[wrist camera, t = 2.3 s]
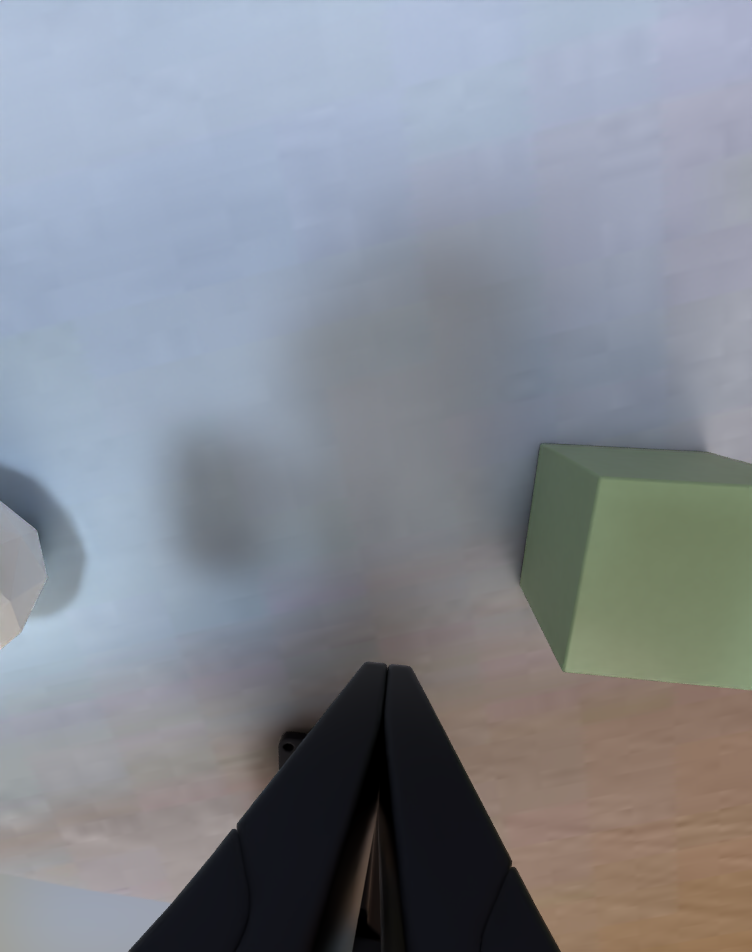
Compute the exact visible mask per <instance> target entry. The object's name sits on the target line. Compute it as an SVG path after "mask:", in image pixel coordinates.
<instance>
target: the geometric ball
mask: <svg viewBox="0 0 752 952" xmlns="http://www.w3.org/2000/svg"><path fill="white" fill-rule="evenodd" d="M47 578H48V576H47V571H46V567H45V563H44V558H43V554H42V550H41V545H40V541H39V537H38V532H37V530H36V529H35V528H34V527H32V526H31V525H30V524H29V523H27V522H26V521H25V520H24V519H22V518H21V517H20V516H19V515H17V514H16V513H15V512H14V511H12V510H11V509H10V508H9V507H7V506H6V505H5V504H4V503H2V502H1V501H0V650H1V649H2V648H3V647H4V646H5V645H7V644H8V643H9V642H10V641H11V640H13V639H14V638H15V637H16V636H17V635H18V634H20V633H21V632H22V630H23V628H24V626H25V624H26V621H27V619H28V617H29V615H30V613H31V611H32V609H33V607H34V605H35V603H36V601H37V599H38V597H39V595H40V593H41V591H42V589H43V587H44V585H45V583H46V581H47Z"/></svg>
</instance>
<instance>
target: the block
mask: <svg viewBox="0 0 752 952" xmlns="http://www.w3.org/2000/svg"><path fill="white" fill-rule="evenodd" d="M520 587H521V589H522V591H523V593H524V595H525V597H526V599H527V601H528V603H529V605H530V607H531V609H532V611H533V613H534V615H535V617H536V619H537V621H538V623H539V625H540V627H541V629H542V631H543V633H544V635H545V637H546V639H547V641H548V643H549V645H550V647H551V649H552V651H553V653H554V655H555V657H556V659H557V661H558V663H559V665H560V667H561V669H562V671H564V672H569V673H579V674H589V675H600V676H610V677H620V678H630V679H641V680H651V681H661V682H671V683H682V684H692V685H702V686H712V687H722V688H733V689H743V690H752V464H750V463H746V462H742V461H739V460H735V459H731V458H728V457H724V456H720V455H717V454H713V453H709V452H695V451H677V450H658V449H640V448H621V447H602V446H584V445H565V444H547V443H543V444H541V445H540V451H539V457H538V464H537V471H536V478H535V484H534V491H533V498H532V505H531V512H530V518H529V525H528V532H527V539H526V545H525V552H524V559H523V566H522V572H521V579H520Z"/></svg>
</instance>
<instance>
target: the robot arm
mask: <svg viewBox="0 0 752 952" xmlns="http://www.w3.org/2000/svg"><path fill="white" fill-rule="evenodd" d="M289 743H290V744H289ZM128 952H561V951H560V949H559V947H558V946H557V944H556V942H555V940H554V938H553V937H552V935H551V933H550V931H549V929H548V927H547V926H546V924H545V922H544V920H543V918H542V916H541V915H540V913H539V911H538V909H537V907H536V906H535V904H534V902H533V900H532V898H531V896H530V894H529V892H528V890H527V888H526V886H525V884H524V882H523V880H522V879H521V877H520V875H519V873H518V871H517V869H516V868H515V867H512V860H511V858H510V856H509V854H508V852H507V850H506V848H505V846H504V844H503V843H502V841H501V839H500V837H499V835H498V833H497V831H496V829H495V827H494V825H493V823H492V821H491V819H490V817H489V816H488V814H487V812H486V810H485V808H484V806H483V804H482V802H481V800H480V798H479V796H478V794H477V792H476V790H475V789H474V787H473V785H472V783H471V781H470V779H469V777H468V775H467V773H466V771H465V769H464V767H463V765H462V763H461V762H460V760H459V758H458V756H457V754H456V752H455V750H454V748H453V746H452V744H451V742H450V740H449V738H448V736H447V735H446V733H445V731H444V729H443V727H442V725H441V723H440V721H439V719H438V717H437V715H436V713H435V711H434V710H433V708H432V706H431V704H430V702H429V700H428V698H427V696H426V694H425V692H424V690H423V688H422V686H421V684H420V683H419V681H418V679H417V677H416V675H415V673H414V671H413V669H412V668H411V667H410V666H405V665H395V664H391V665H389V667H387V665H386V664H384V663H375V662H366V663H364V664H363V665H362V666H361V668H360V669H359V670H358V671H357V673H356V674H355V675H354V677H353V678H352V679H351V680H350V682H349V683H348V684H347V685H346V687H345V688H344V689H343V690H342V692H341V693H340V694H339V695H338V697H337V698H336V699H335V701H334V702H333V703H332V704H331V706H330V707H329V708H328V709H327V711H326V712H325V713H324V714H323V716H322V717H321V718H320V719H319V721H318V722H317V723H316V725H315V726H314V727H313V728H312V730H311V731H310V732H309V733H308V734H305V733H297V732H286V733H284V734H283V735H282V737H281V740H280V742H279V771H278V772H277V774H276V775H275V776H274V778H273V779H272V780H271V781H270V783H269V784H268V785H267V786H266V788H265V789H264V790H263V791H262V793H261V794H260V795H259V796H258V798H257V799H256V800H255V802H254V803H253V804H252V805H251V807H250V808H249V809H248V810H247V812H246V813H245V814H244V815H243V817H242V818H241V819H240V820H239V822H238V823H237V830H236V829H232V830H231V831H230V833H229V834H228V835H227V836H226V838H225V839H224V840H223V841H222V843H221V844H220V845H219V847H218V848H217V849H216V850H215V852H214V853H213V854H212V855H211V857H210V858H209V859H208V860H207V862H206V863H205V864H204V865H203V866H202V868H201V869H200V870H199V871H198V872H197V874H196V875H195V876H194V877H193V878H192V880H191V881H190V882H189V883H188V884H187V886H186V887H185V888H184V889H183V890H182V892H181V893H180V894H179V895H178V896H177V898H176V899H175V900H174V901H173V902H172V904H171V905H170V906H169V907H168V908H167V909H166V910H165V911H164V913H163V914H162V915H161V916H160V917H159V918H158V919H157V920H156V921H155V922H154V924H153V925H152V926H151V927H150V928H149V929H148V930H147V931H146V932H145V933H144V935H143V936H142V937H141V938H140V939H139V940H138V941H137V942H136V943H135V944H134V946H133V947H132V948H131V949H130V950H129V951H128Z"/></svg>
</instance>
